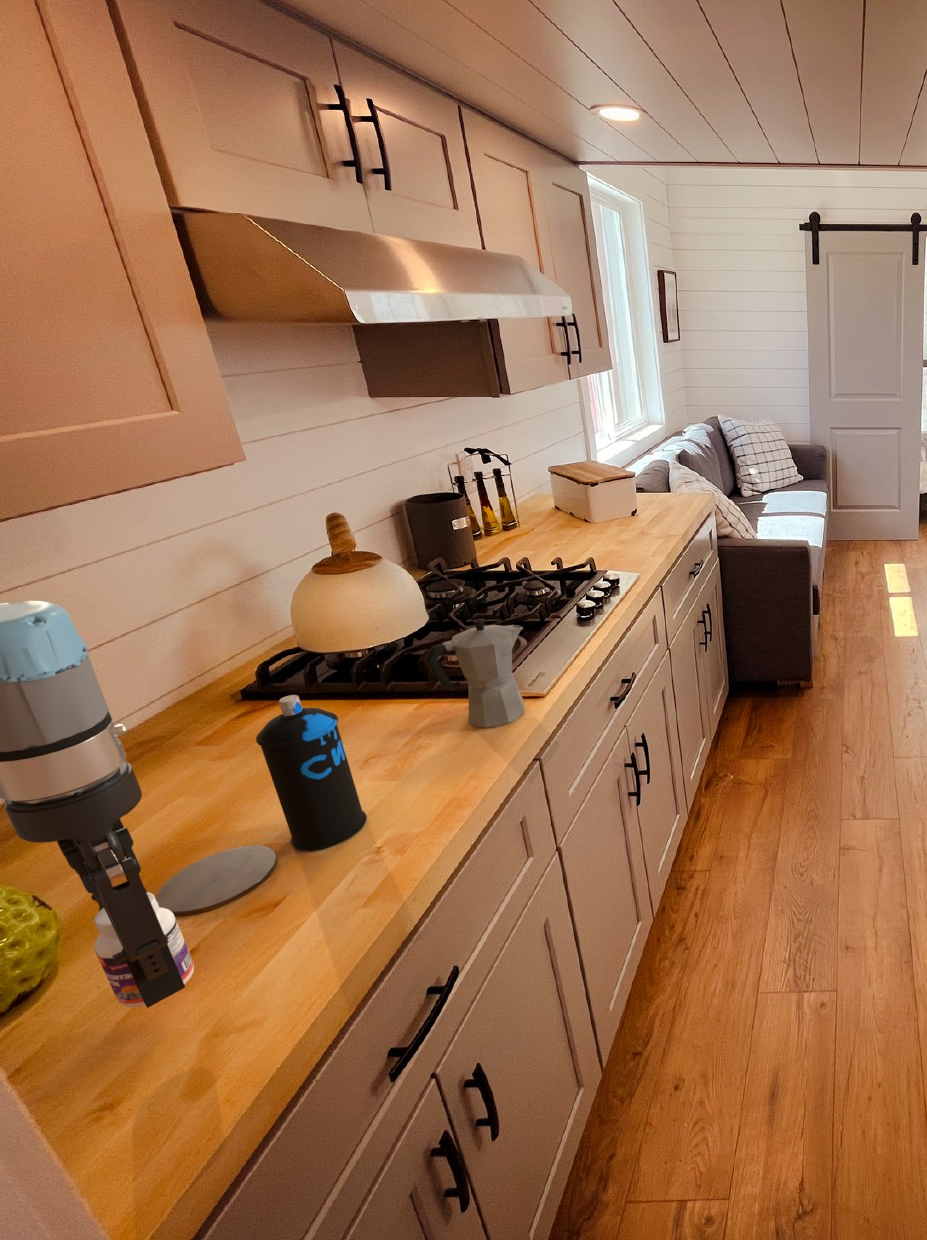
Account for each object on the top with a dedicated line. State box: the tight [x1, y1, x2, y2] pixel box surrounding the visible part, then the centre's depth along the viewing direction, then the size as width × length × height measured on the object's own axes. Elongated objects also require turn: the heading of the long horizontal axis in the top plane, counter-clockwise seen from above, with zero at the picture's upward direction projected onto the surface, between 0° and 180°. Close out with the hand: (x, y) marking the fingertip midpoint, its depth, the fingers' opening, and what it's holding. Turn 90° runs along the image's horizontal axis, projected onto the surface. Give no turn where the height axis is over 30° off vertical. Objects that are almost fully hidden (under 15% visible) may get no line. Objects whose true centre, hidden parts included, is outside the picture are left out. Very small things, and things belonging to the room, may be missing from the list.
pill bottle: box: [93, 891, 195, 1009], centre depth 67 cm, size 5×5×10 cm
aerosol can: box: [255, 694, 368, 851], centre depth 91 cm, size 8×8×20 cm
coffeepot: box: [424, 618, 526, 729], centre depth 118 cm, size 15×9×18 cm, turn 139°
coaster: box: [155, 844, 279, 917], centre depth 85 cm, size 11×11×1 cm
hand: (155, 978), depth 68 cm, fingers closed on pill bottle, 5 cm apart
